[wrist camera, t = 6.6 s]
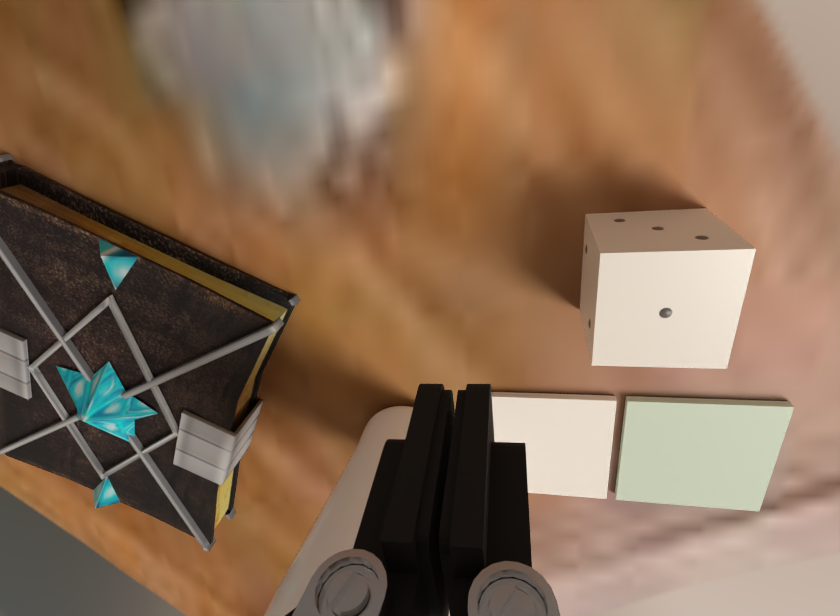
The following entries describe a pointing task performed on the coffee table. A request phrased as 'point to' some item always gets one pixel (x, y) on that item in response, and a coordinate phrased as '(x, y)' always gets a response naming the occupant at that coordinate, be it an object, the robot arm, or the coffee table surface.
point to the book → (127, 355)
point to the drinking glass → (341, 508)
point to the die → (662, 288)
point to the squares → (646, 446)
